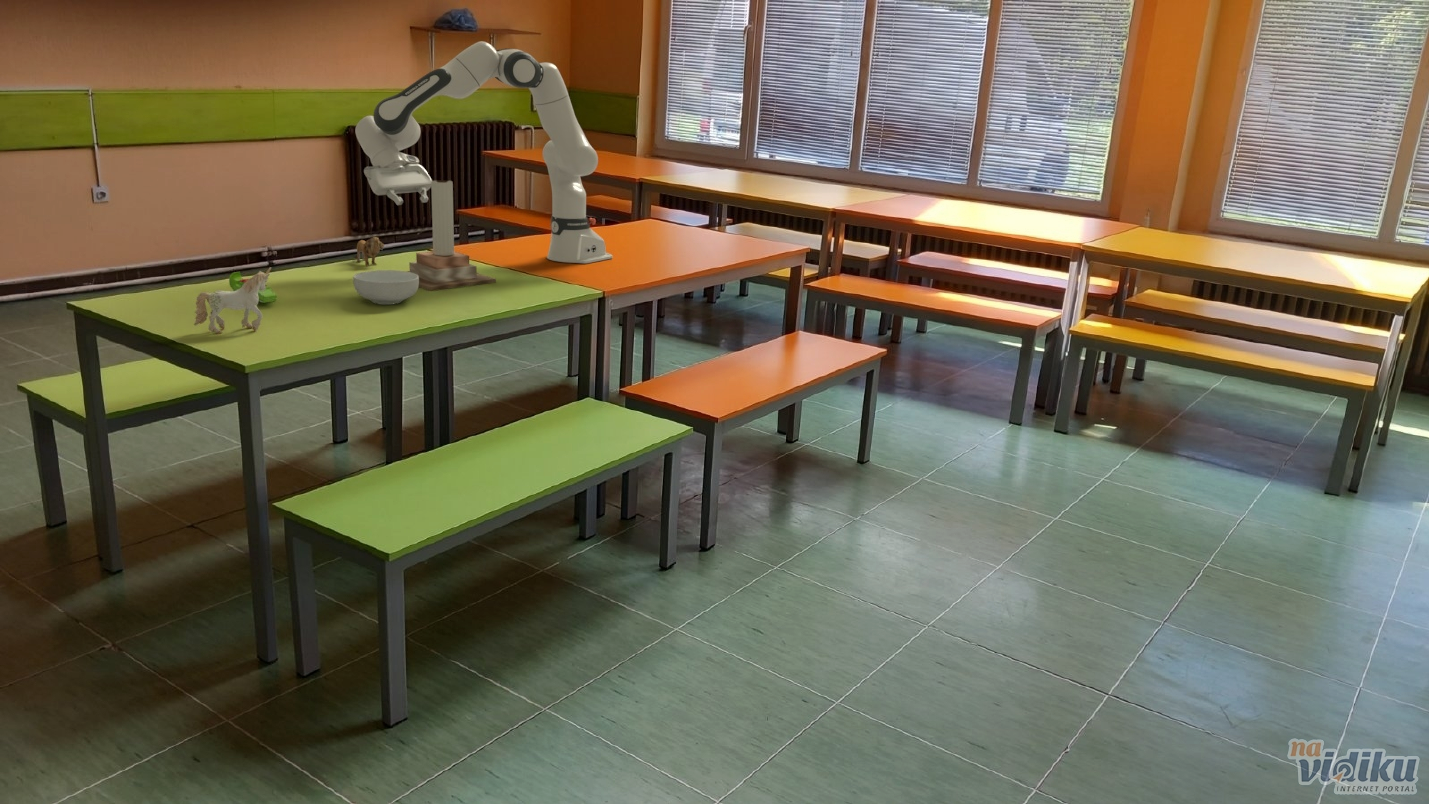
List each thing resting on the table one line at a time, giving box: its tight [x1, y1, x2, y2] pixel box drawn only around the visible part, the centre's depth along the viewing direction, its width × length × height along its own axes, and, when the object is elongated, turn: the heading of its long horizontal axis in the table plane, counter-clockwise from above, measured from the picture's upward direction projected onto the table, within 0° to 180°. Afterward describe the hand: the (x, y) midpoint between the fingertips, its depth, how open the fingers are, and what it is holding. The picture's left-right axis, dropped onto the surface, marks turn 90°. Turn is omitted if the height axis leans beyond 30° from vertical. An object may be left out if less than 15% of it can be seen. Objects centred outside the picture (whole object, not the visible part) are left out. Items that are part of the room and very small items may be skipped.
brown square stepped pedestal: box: [406, 250, 497, 291], centre depth 311 cm, size 22×22×8 cm
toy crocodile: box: [228, 271, 278, 304], centre depth 275 cm, size 20×7×6 cm, turn 45°
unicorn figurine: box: [193, 266, 272, 335], centre depth 246 cm, size 7×20×13 cm, turn 137°
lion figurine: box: [354, 236, 385, 267], centre depth 326 cm, size 15×5×9 cm, turn 49°
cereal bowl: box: [352, 269, 419, 305], centre depth 282 cm, size 17×17×7 cm
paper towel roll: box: [430, 179, 455, 256], centre depth 306 cm, size 7×6×21 cm
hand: (413, 202), depth 312 cm, fingers open, 8 cm apart
